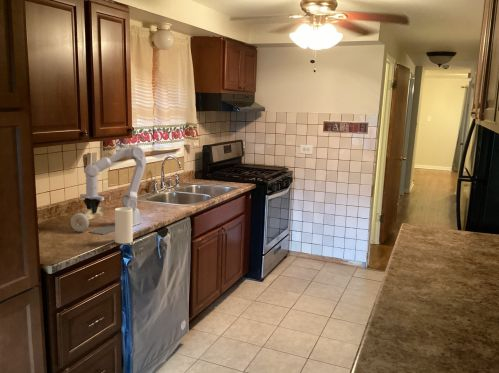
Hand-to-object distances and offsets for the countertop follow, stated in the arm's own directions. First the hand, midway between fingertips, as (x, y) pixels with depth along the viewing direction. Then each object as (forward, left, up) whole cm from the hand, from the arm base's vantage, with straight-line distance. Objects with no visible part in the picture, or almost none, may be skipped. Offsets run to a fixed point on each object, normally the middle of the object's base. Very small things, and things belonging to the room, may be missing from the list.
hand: (92, 212), depth 239 cm
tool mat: (-1, +10, -8) cm, 13 cm away
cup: (+12, +30, -9) cm, 34 cm away
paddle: (0, 0, -3) cm, 3 cm away
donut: (+9, 0, -9) cm, 13 cm away
